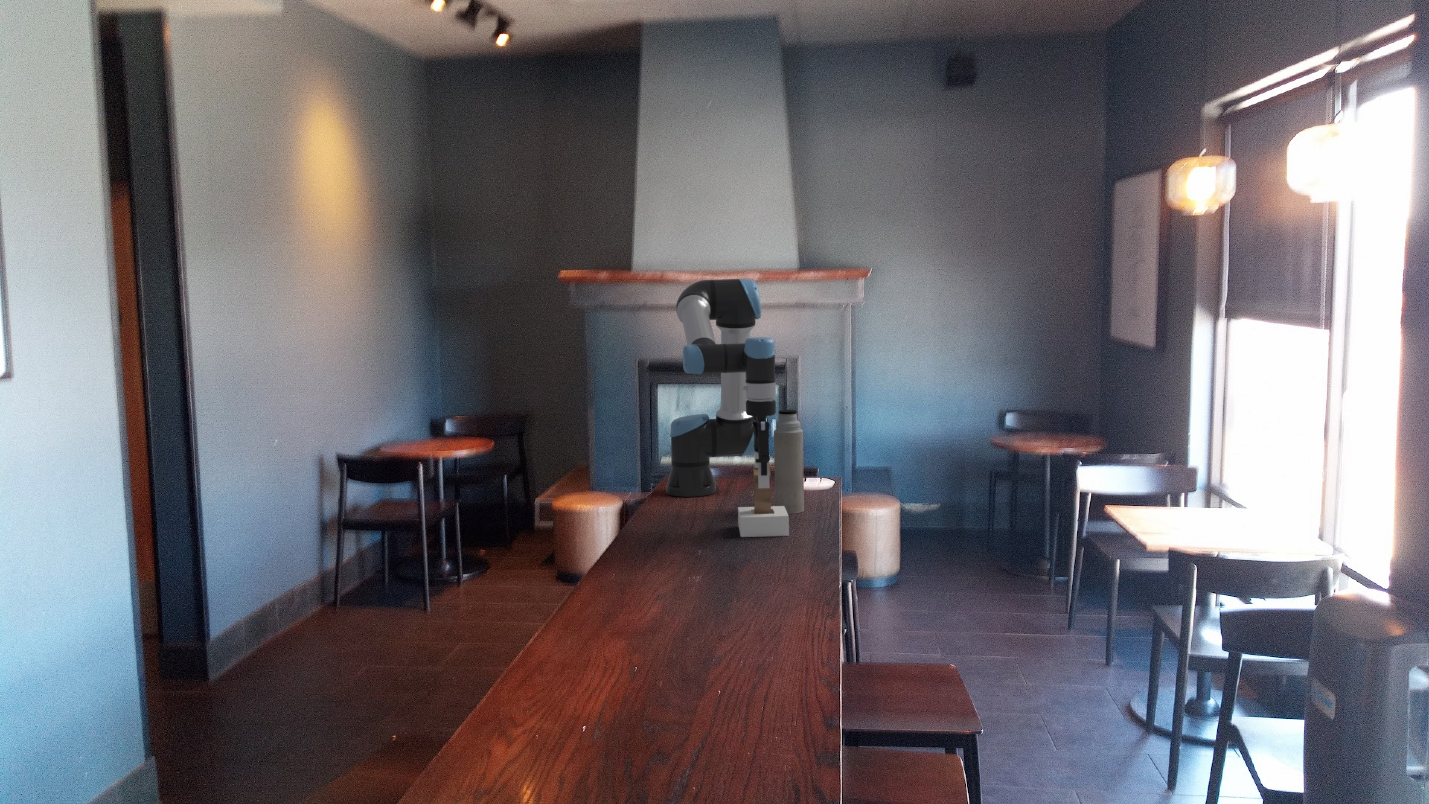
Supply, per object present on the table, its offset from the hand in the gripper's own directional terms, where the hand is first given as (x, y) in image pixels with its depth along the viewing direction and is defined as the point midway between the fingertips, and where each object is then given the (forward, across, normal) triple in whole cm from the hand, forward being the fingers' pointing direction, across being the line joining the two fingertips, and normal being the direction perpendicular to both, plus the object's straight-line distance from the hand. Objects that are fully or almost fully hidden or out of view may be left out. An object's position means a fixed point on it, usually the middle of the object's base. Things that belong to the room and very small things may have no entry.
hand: (762, 482), depth 268 cm
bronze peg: (+12, 0, 0) cm, 12 cm away
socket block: (+12, +1, 0) cm, 12 cm away
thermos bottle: (+13, -22, +9) cm, 27 cm away
